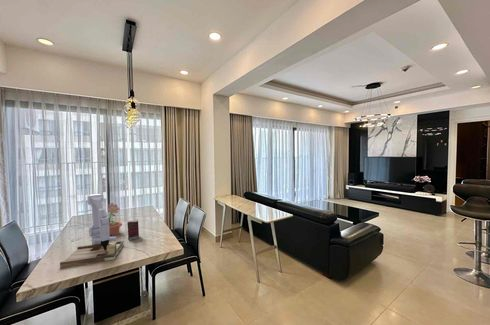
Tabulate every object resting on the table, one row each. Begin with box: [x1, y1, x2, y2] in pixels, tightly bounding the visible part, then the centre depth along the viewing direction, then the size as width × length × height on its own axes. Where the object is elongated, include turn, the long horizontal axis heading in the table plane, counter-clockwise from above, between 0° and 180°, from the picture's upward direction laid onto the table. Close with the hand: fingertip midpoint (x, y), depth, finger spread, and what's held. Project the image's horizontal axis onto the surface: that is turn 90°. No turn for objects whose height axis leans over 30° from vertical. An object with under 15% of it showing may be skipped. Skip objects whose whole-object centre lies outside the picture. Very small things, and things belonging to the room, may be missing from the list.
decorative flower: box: [107, 202, 123, 236], centre depth 188 cm, size 15×14×30 cm
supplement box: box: [127, 219, 140, 241], centre depth 179 cm, size 9×5×16 cm, turn 120°
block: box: [107, 241, 117, 252], centre depth 153 cm, size 5×5×5 cm
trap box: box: [59, 240, 125, 268], centre depth 150 cm, size 24×32×4 cm
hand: (105, 249), depth 152 cm, fingers closed
